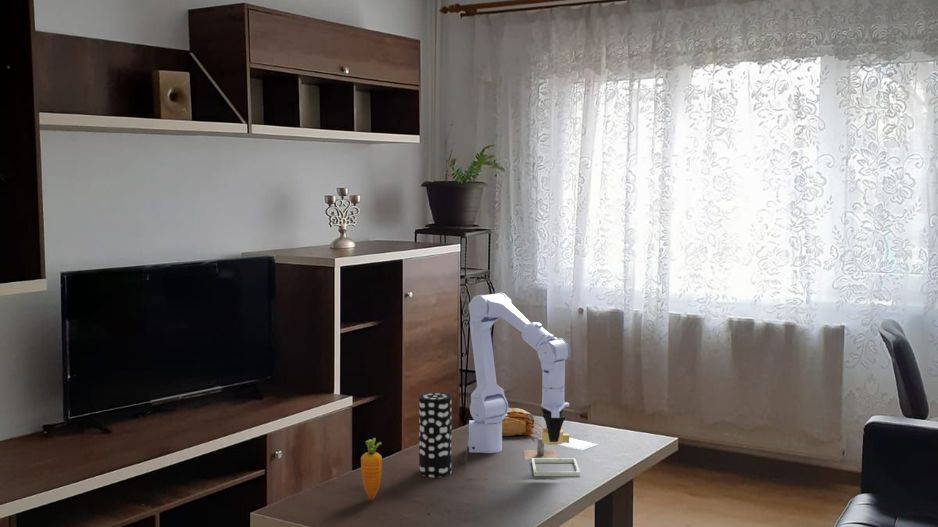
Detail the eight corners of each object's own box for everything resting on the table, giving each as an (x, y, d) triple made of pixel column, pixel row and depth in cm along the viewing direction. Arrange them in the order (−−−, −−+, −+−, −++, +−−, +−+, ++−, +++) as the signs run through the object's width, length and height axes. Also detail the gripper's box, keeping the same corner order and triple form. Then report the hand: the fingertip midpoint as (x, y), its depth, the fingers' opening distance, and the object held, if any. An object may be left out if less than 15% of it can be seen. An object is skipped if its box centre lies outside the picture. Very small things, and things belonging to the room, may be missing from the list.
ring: (569, 445, 237) (569, 433, 237) (542, 444, 237) (542, 433, 237) (568, 439, 242) (568, 427, 242) (541, 438, 243) (542, 427, 242)
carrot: (371, 495, 223) (371, 433, 221) (386, 499, 220) (386, 437, 218) (356, 500, 219) (356, 438, 217) (371, 505, 216) (371, 442, 214)
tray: (534, 478, 235) (534, 471, 235) (531, 464, 247) (531, 458, 246) (580, 479, 235) (580, 472, 235) (575, 464, 246) (575, 458, 246)
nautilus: (558, 441, 270) (520, 454, 260) (507, 422, 286) (470, 433, 276) (558, 415, 269) (520, 427, 259) (508, 397, 285) (470, 407, 275)
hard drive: (546, 441, 264) (582, 449, 256) (563, 435, 271) (599, 443, 262) (546, 447, 265) (582, 455, 256) (563, 441, 271) (599, 449, 263)
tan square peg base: (524, 462, 248) (524, 443, 248) (523, 452, 257) (523, 434, 257) (558, 462, 248) (558, 443, 248) (555, 452, 257) (555, 434, 257)
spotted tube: (447, 478, 235) (447, 400, 233) (415, 476, 237) (415, 399, 235) (454, 468, 243) (454, 393, 241) (423, 466, 245) (423, 391, 243)
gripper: (571, 393, 231) (571, 446, 233) (566, 380, 246) (565, 430, 247) (543, 392, 231) (542, 446, 233) (539, 380, 246) (539, 430, 247)
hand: (552, 438), depth 240 cm, fingers closed on ring, 5 cm apart
